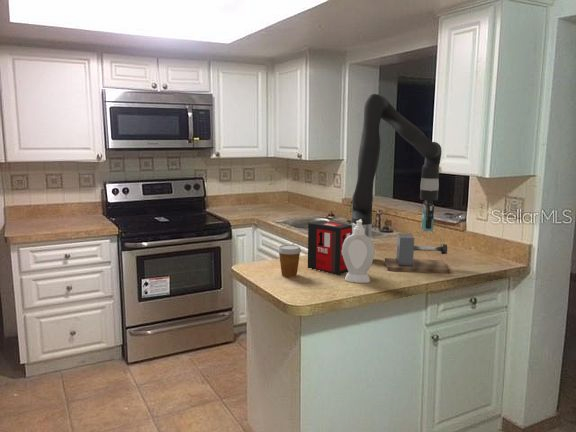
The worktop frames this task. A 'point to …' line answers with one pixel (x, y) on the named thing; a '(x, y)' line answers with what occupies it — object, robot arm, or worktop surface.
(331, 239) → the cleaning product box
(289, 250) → the disposable coffee cup
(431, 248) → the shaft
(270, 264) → the worktop surface
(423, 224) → the block
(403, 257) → the housing
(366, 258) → the soap bottle
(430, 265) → the base board
